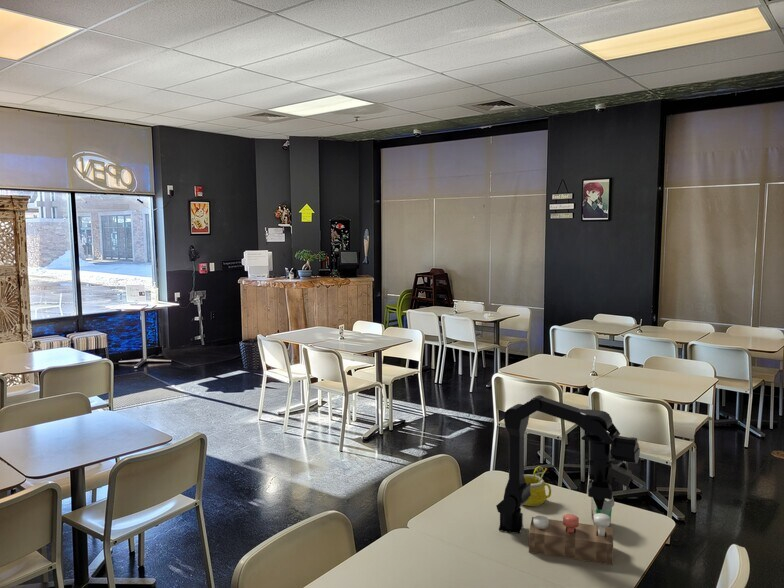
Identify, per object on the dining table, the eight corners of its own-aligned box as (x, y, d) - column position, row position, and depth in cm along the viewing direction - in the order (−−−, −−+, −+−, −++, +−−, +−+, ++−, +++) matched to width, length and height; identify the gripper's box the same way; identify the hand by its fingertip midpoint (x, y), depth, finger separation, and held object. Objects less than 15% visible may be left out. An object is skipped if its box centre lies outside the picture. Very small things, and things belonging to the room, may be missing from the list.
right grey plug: (593, 545, 167) (593, 519, 166) (593, 537, 171) (593, 512, 171) (609, 547, 166) (610, 521, 165) (609, 539, 170) (609, 514, 169)
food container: (617, 536, 179) (617, 504, 178) (596, 534, 180) (596, 503, 179) (610, 517, 191) (611, 487, 190) (590, 515, 192) (591, 486, 191)
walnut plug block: (528, 552, 171) (528, 532, 170) (532, 535, 180) (532, 516, 179) (612, 564, 163) (613, 544, 163) (611, 546, 173) (612, 527, 172)
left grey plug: (532, 546, 173) (532, 521, 172) (533, 539, 177) (534, 514, 176) (547, 548, 171) (548, 523, 171) (548, 541, 176) (549, 516, 175)
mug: (517, 508, 198) (517, 474, 197) (511, 494, 209) (511, 462, 208) (555, 508, 198) (555, 474, 196) (547, 494, 208) (547, 462, 207)
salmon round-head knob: (562, 545, 170) (562, 520, 169) (563, 537, 174) (563, 513, 173) (578, 547, 169) (578, 522, 168) (578, 540, 173) (578, 515, 172)
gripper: (632, 471, 155) (632, 528, 156) (628, 447, 172) (628, 498, 174) (587, 467, 158) (588, 522, 160) (588, 444, 176) (589, 494, 177)
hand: (600, 509), depth 167 cm, fingers closed
